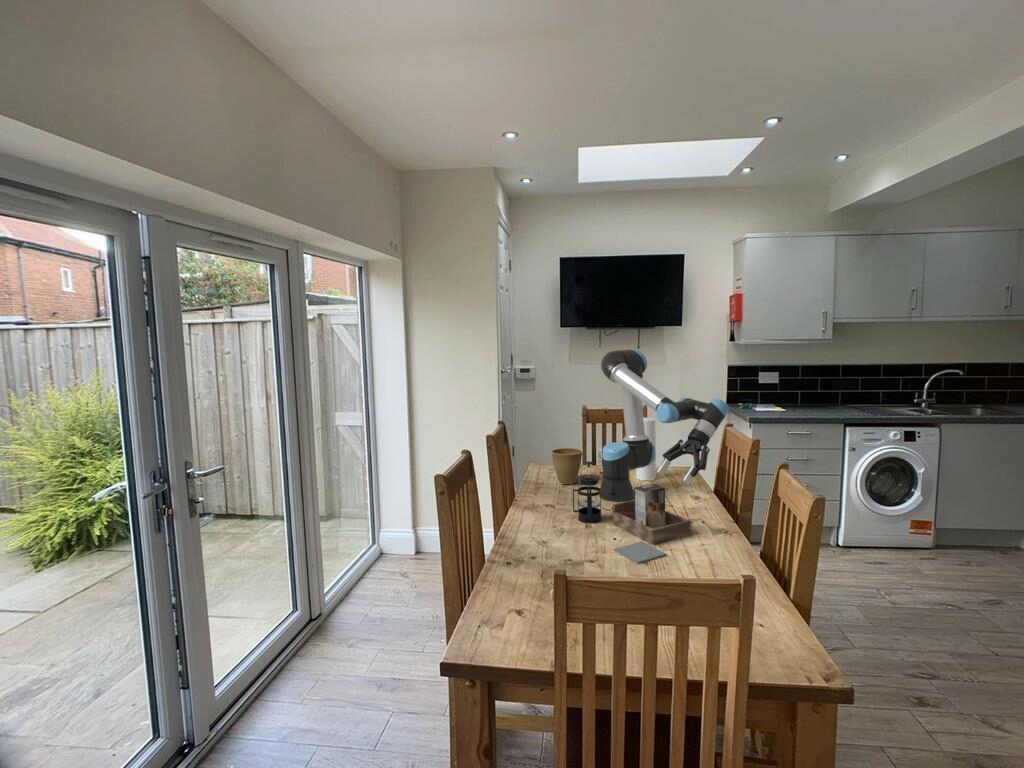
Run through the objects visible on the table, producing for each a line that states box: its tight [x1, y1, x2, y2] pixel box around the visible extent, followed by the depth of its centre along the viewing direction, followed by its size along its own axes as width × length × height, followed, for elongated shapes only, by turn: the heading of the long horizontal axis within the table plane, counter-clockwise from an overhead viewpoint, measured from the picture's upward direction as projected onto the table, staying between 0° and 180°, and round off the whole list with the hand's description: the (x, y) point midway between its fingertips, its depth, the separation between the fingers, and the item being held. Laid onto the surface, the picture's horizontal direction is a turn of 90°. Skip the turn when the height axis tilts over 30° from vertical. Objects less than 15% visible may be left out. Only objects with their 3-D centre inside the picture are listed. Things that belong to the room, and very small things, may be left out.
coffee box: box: [634, 483, 666, 529], centre depth 195 cm, size 9×6×16 cm
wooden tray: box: [612, 498, 692, 546], centre depth 196 cm, size 22×17×8 cm
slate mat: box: [613, 540, 667, 565], centre depth 176 cm, size 12×12×1 cm
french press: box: [572, 460, 603, 524], centre depth 208 cm, size 12×9×23 cm
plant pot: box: [551, 447, 583, 485], centre depth 258 cm, size 15×15×16 cm
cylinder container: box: [635, 417, 657, 481], centre depth 261 cm, size 9×9×30 cm
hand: (672, 478), depth 199 cm, fingers open, 13 cm apart
